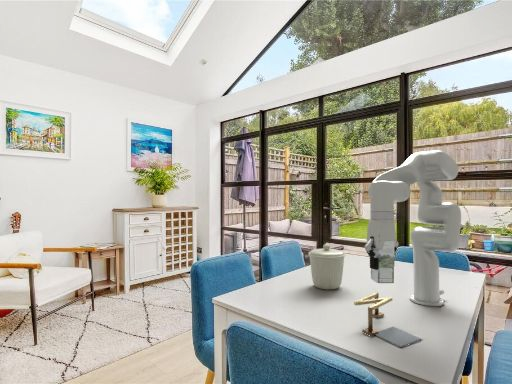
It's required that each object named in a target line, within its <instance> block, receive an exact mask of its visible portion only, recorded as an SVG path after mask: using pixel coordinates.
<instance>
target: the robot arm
mask: <svg viewBox="0 0 512 384" xmlns="http://www.w3.org/2000/svg"><path fill="white" fill-rule="evenodd" d="M458 174H459V166H458V163H457V161H456V160H455V159H454V158H453V157H451V156H450V155H449V154H448V153H446V152H444V151H443V150H440V149H439V150H438V149H437V150H427V151H418V152H413V154H410V156H408V158H406V160H405V161H404V162H403V163H402V164H400V166H398V167H394V168H393V169H390V170H388V171H386V172H383V173H381V174H379V175H378V176H377V177H376V178H375V179H373V181H371V183H370V184H369V187H368V190H367V193H368V197H369V198H370V214H369V215H370V217H369V218H370V219H369V220H368V223H367V230H366V231H367V232H366V243H365V245H364V246H363V247H364V249H365V251H366V253H367V256H368V257H369V268H370V270H371V269H375V270H378V269H379V258H377V256H378V253H379V250H382V249H383V246H384V242H386V241H389V240H392V241H394V257H395V256H396V252H397V251H398V247H399V245H400V244H399V242H398V240H397V232H396V226H395V225H396V224H395V217H394V216H395V215H394V214H395V203H401V202H405V201H407V200H408V199H409V198H410V197H411V193H412V189H411V187H410V186H412V185H414V184H415V183H416V184H417V186H418V189H419V202H418V209H417V219H418V221H419V222H420V223H422V224H424V225H433V226H417V227H414V228H412V230H411V232H410V242H411V247H412V254H413V260H412V261H413V294H411V295H410V296H409V299H410V301H411V302H413V303H415V304H418V305H422V306H427V307H439V306H440V307H441V306H444V304H445V302H444V300H443V298H441V295H444V294H445V291H444V290H443V289H440V260H439V257H438V256H437V255H436V253H435V251H437V252H438V251H439V252H443V253H444V252H445V253H448V252H449V253H454V252H456V251H457V249H458V248H459V244H460V237H461V226H462V225H461V223H462V211H461V208H460V206H459V204H456V203H454V202H443V191H442V188H441V187H440V186H438V185H437V184H436V183H435V181H436V182H437V181H452V180H454V179H456V177H458ZM435 226H445V227H435ZM374 247H376V248H374ZM373 251H375V253H374V252H373Z"/></svg>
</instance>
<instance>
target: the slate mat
mask: <svg viewBox="0 0 512 384" xmlns="http://www.w3.org/2000/svg"><path fill="white" fill-rule="evenodd" d="M378 331H379V333H377V334H375V335H376V336H375V337H377V336H378V337H377V338H379V337H380V338H379V339H381V338H382V339H381V340H383V339H384V340H383V341H385V340H386V341H385V342H387V341H388V342H387V343H389V342H391V343H393V344H395V345H397V346H399V347H398V348H400V347H402V348H404V347H403V346H405V347H407V346H406V345H408V344H410V345H412V344H411V343H413V344H415V343H418V342H420V341H422V337H419V336H416V335H414V334H412V333H409V332H406V331H405V330H402V329H400V328H397V327H395V326H391V327H387V328H384V329H382V330H378ZM417 341H418V342H417ZM414 342H415V343H414ZM391 343H390V344H391ZM393 344H392V345H393ZM395 345H394V346H395ZM397 346H396V347H397ZM408 346H409V345H408Z"/></svg>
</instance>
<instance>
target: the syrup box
mask: <svg viewBox="0 0 512 384" xmlns="http://www.w3.org/2000/svg"><path fill="white" fill-rule="evenodd" d="M374 248H376V247H374ZM373 252H374V253H375V251H373ZM377 258H379V269H378V270H375V269H371V268H370V279H371V280H372V281H374V282H375V283H377V284H394V283H395V256H394V241H392V240H389V241H386V242H384V246H383V249H382V250H379V253H378V256H377Z"/></svg>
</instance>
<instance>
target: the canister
mask: <svg viewBox="0 0 512 384" xmlns="http://www.w3.org/2000/svg"><path fill="white" fill-rule="evenodd" d="M307 253H308V254H307V255H308V256H309V263H310V270H311V271H310V272H311V278H312V284H313V285H314V286H315V287H316V288H318V289H321V290H328V291H329V290H330V291H331V290H336V289H339V288H340V287H341V285H342V280H343V273H344V263H345V257H346V255H347V254H346V253H345V252H343V251H342V250H339V249H335V248H331V245H330V244H329V243H325V244H323V246H322V248H314V249H312V250H310V251H309V252H307Z"/></svg>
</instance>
